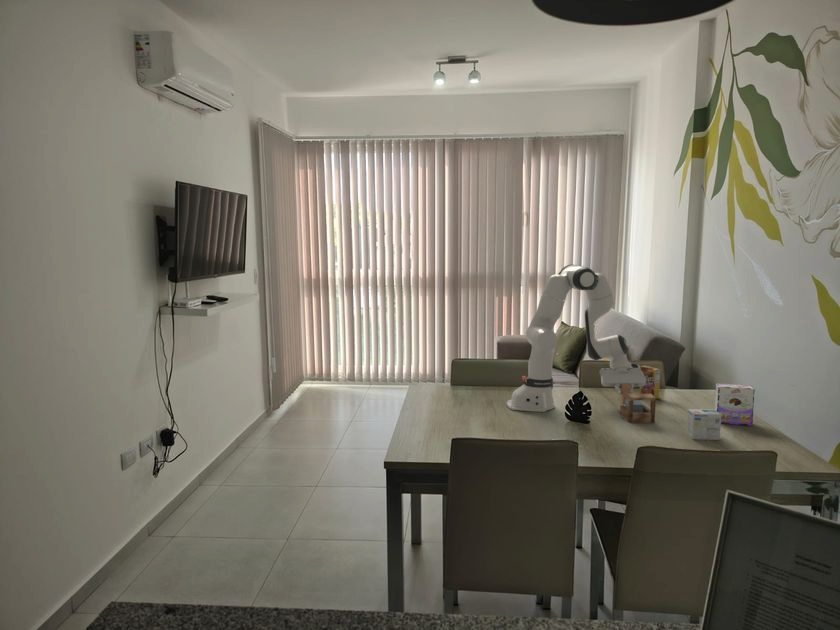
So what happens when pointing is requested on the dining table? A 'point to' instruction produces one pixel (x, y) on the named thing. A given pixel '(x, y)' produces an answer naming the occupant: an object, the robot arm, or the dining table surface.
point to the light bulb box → (703, 424)
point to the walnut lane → (644, 417)
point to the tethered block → (624, 400)
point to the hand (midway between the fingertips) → (626, 393)
